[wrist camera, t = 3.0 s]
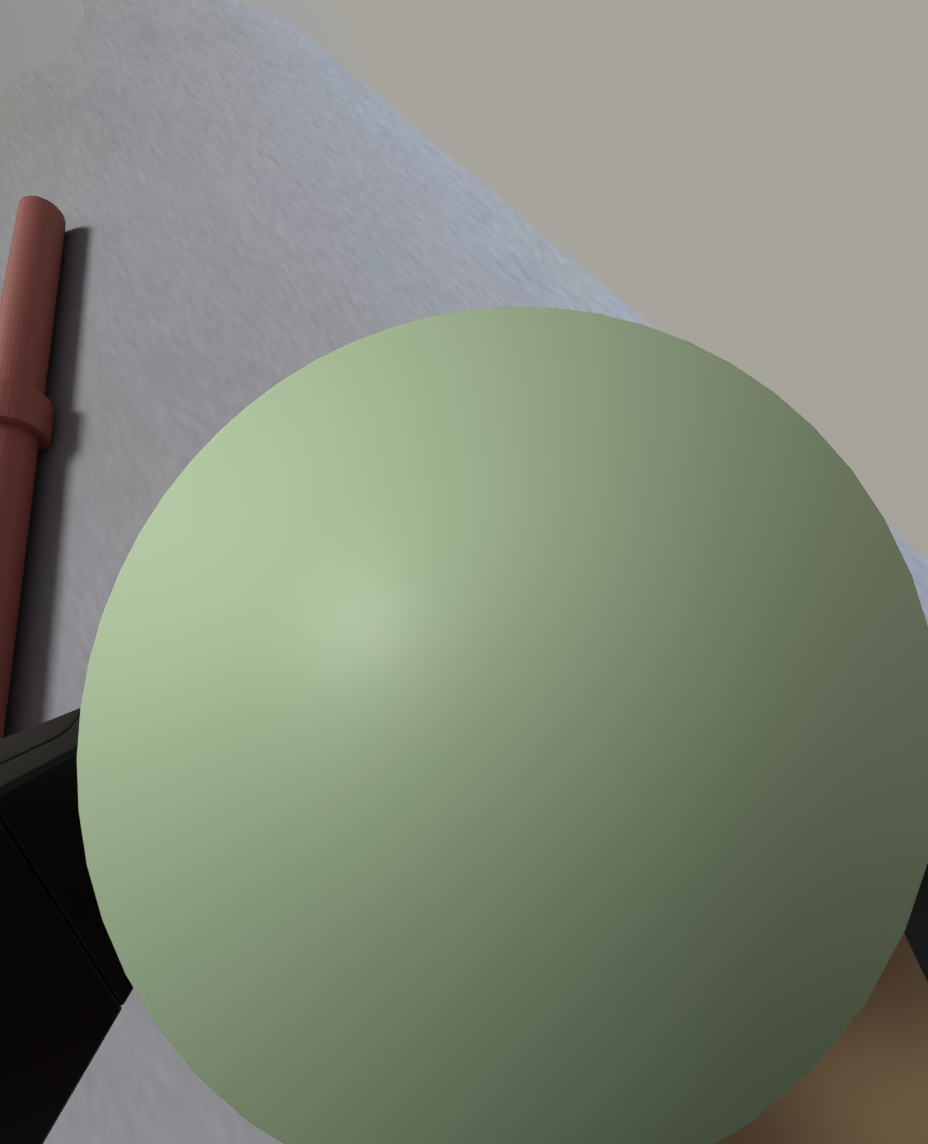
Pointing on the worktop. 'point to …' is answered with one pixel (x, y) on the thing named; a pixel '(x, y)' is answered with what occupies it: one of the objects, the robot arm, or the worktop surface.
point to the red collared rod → (24, 397)
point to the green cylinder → (508, 743)
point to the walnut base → (862, 1074)
